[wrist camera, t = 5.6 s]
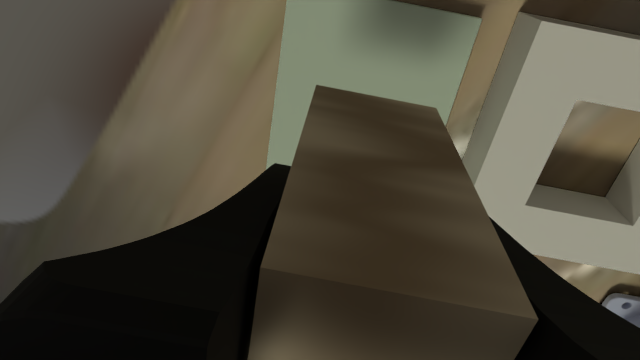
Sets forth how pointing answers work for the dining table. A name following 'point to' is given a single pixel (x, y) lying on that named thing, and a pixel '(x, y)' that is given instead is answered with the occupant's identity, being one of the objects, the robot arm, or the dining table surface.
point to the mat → (366, 58)
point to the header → (542, 133)
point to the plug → (384, 245)
